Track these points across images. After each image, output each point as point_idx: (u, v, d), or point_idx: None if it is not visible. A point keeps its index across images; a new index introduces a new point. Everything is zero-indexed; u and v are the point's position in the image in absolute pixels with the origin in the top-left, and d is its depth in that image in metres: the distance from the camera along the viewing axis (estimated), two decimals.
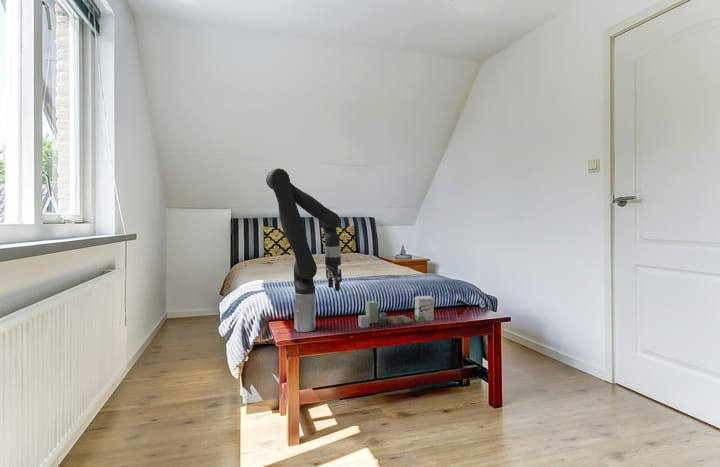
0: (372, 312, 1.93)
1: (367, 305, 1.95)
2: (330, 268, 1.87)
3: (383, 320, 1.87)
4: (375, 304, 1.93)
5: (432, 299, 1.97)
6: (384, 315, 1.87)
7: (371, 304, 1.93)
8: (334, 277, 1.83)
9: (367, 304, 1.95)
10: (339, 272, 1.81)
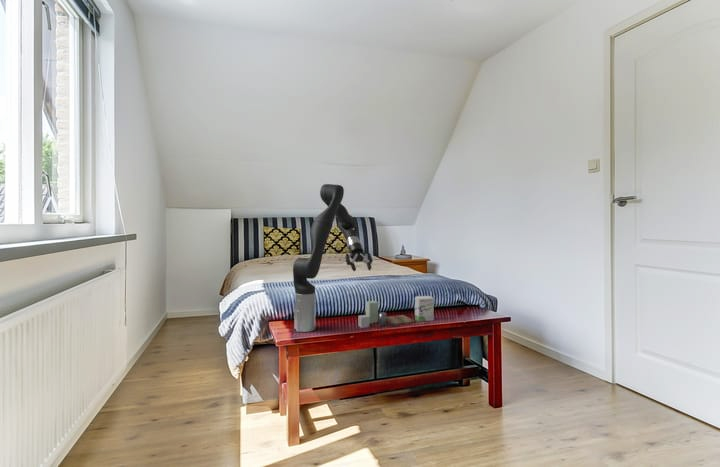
0: (372, 312, 1.93)
1: (367, 305, 1.95)
2: (356, 253, 2.11)
3: (383, 319, 1.87)
4: (375, 304, 1.93)
5: (432, 299, 1.97)
6: (384, 315, 1.87)
7: (371, 304, 1.93)
8: (366, 258, 2.10)
9: (367, 304, 1.95)
10: None
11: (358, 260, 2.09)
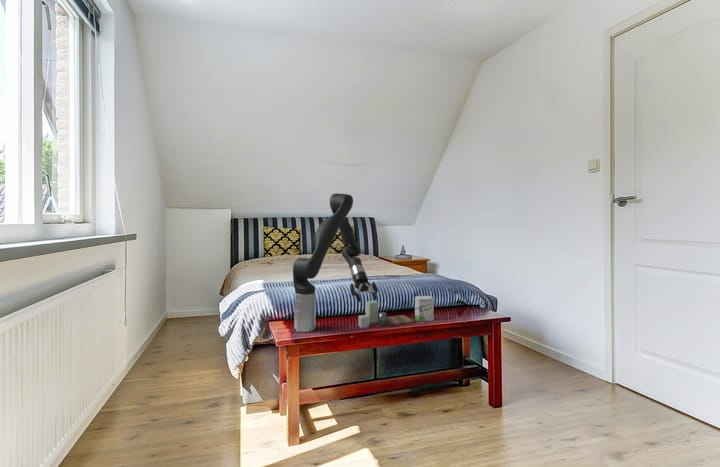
0: (372, 312, 1.93)
1: (367, 305, 1.95)
2: None
3: (383, 319, 1.87)
4: (375, 304, 1.93)
5: (432, 299, 1.97)
6: (384, 315, 1.87)
7: (371, 304, 1.93)
8: (371, 288, 2.05)
9: (367, 304, 1.95)
10: None
11: (363, 290, 2.04)
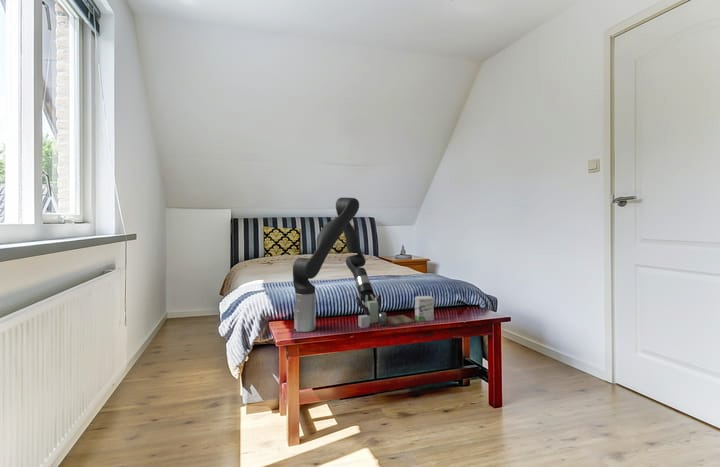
0: (372, 312, 1.93)
1: (367, 305, 1.95)
2: (366, 295, 1.99)
3: (383, 320, 1.87)
4: (375, 304, 1.93)
5: (432, 299, 1.97)
6: (384, 315, 1.87)
7: (371, 304, 1.93)
8: None
9: (367, 304, 1.95)
10: None
11: None
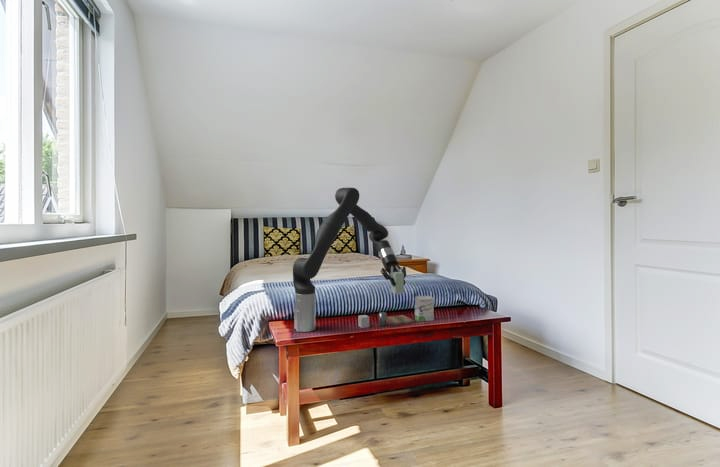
0: (398, 282, 1.94)
1: (393, 276, 1.96)
2: None
3: (382, 319, 1.87)
4: (401, 274, 1.94)
5: (432, 299, 1.97)
6: (383, 315, 1.87)
7: (397, 274, 1.94)
8: None
9: (393, 275, 1.96)
10: None
11: None
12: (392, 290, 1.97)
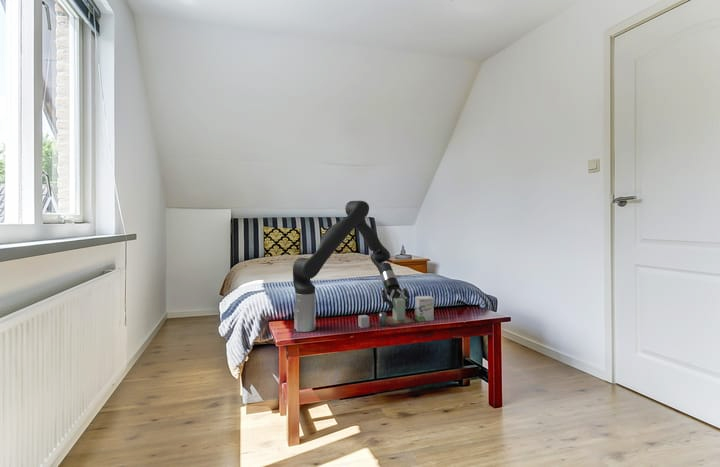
0: (399, 309, 1.94)
1: (394, 303, 1.96)
2: (392, 289, 2.00)
3: (382, 320, 1.87)
4: (402, 301, 1.95)
5: (432, 299, 1.97)
6: (383, 315, 1.87)
7: (398, 301, 1.94)
8: (403, 294, 2.00)
9: (394, 301, 1.96)
10: None
11: (395, 296, 1.99)
12: (393, 317, 1.97)
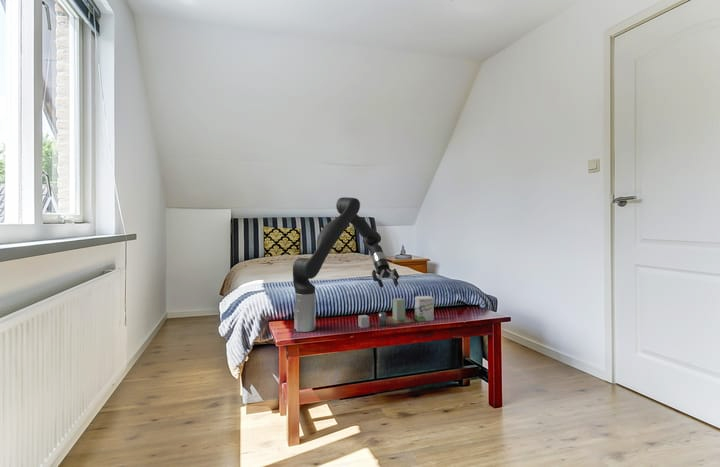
0: (399, 309, 1.94)
1: (394, 303, 1.96)
2: (382, 269, 2.11)
3: (381, 320, 1.87)
4: (402, 301, 1.95)
5: (432, 299, 1.97)
6: (382, 315, 1.87)
7: (398, 301, 1.94)
8: None
9: (394, 301, 1.96)
10: None
11: (385, 276, 2.09)
12: (393, 317, 1.97)
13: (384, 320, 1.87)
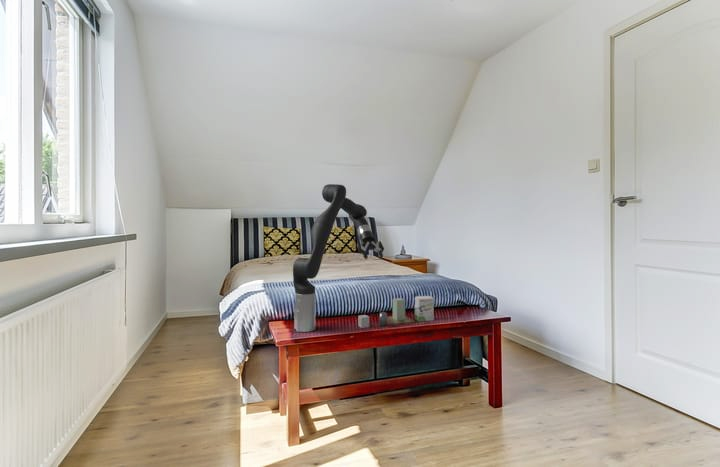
0: (399, 309, 1.94)
1: (394, 303, 1.96)
2: None
3: (381, 319, 1.87)
4: (402, 301, 1.95)
5: (432, 299, 1.97)
6: (382, 315, 1.87)
7: (398, 301, 1.94)
8: None
9: (394, 301, 1.96)
10: None
11: (369, 248, 2.10)
12: (393, 317, 1.97)
13: (384, 320, 1.87)
